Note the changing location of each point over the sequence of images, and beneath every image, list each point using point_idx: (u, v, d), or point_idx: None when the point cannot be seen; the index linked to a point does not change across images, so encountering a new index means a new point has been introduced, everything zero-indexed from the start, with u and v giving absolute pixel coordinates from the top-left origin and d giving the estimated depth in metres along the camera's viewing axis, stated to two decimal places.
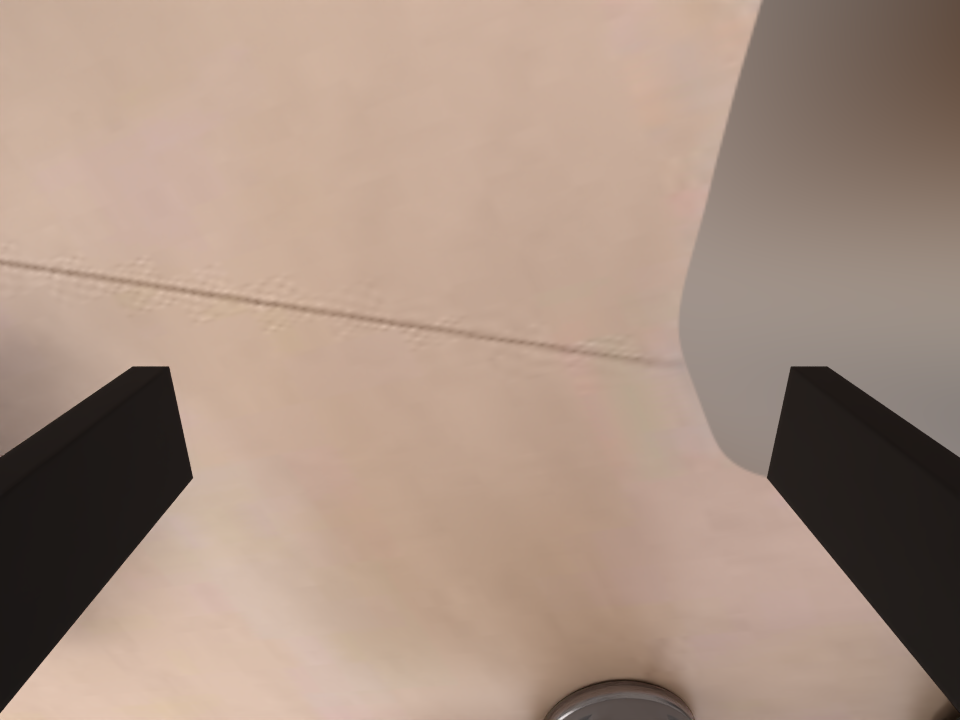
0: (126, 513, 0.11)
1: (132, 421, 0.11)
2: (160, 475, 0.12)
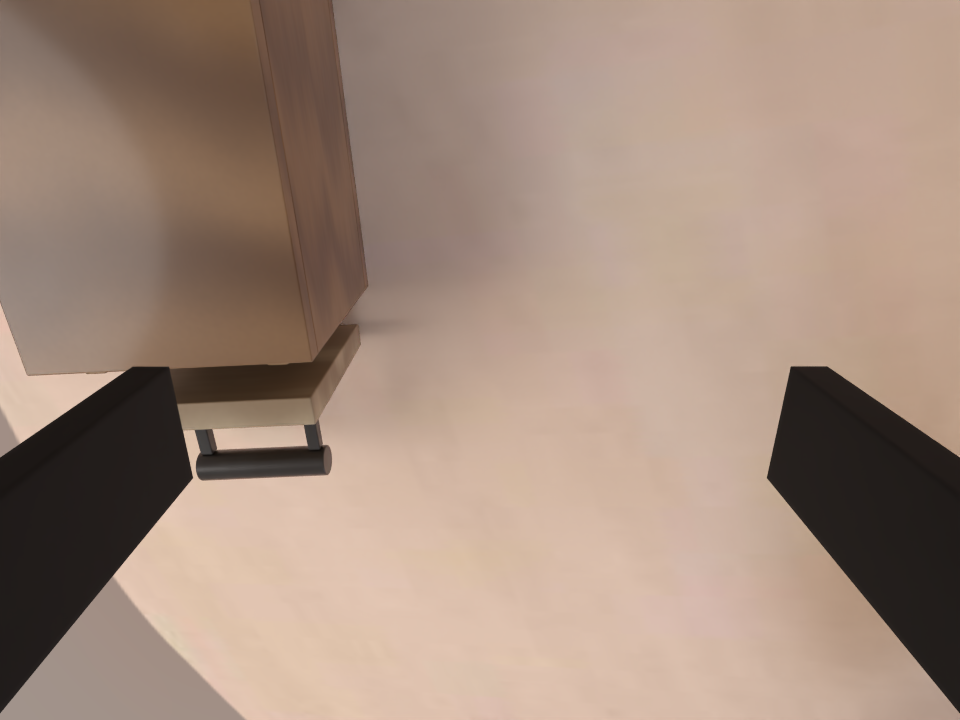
0: (127, 513, 0.11)
1: (132, 421, 0.11)
2: (160, 475, 0.12)
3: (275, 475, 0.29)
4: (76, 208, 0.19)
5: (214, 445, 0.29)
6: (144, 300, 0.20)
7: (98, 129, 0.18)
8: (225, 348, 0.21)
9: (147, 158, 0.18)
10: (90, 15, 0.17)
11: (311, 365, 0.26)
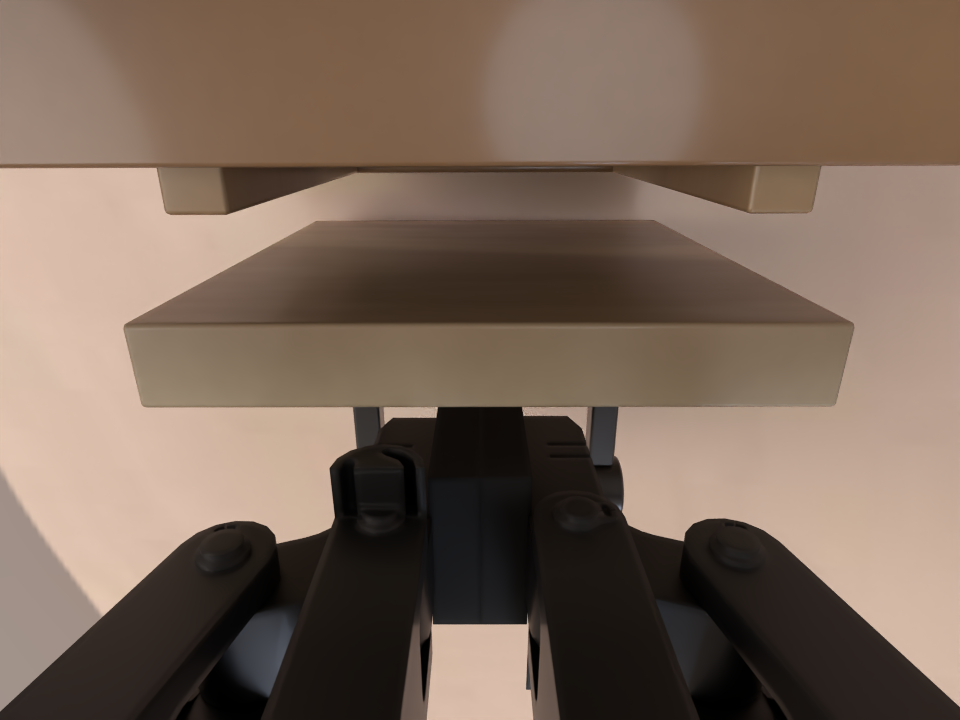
0: None
1: None
2: None
3: None
4: None
5: None
6: None
7: None
8: (723, 89, 0.06)
9: None
10: None
11: (692, 264, 0.11)
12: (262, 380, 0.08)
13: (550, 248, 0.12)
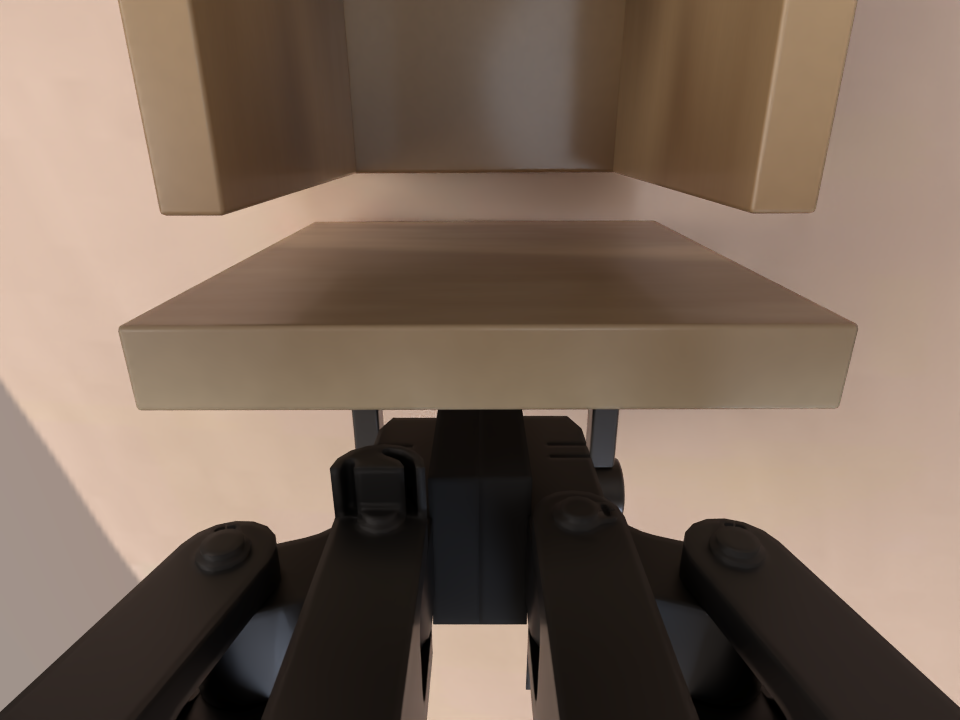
0: None
1: None
2: None
3: None
4: None
5: None
6: None
7: None
8: None
9: None
10: None
11: (693, 265, 0.10)
12: (259, 383, 0.08)
13: (550, 249, 0.12)
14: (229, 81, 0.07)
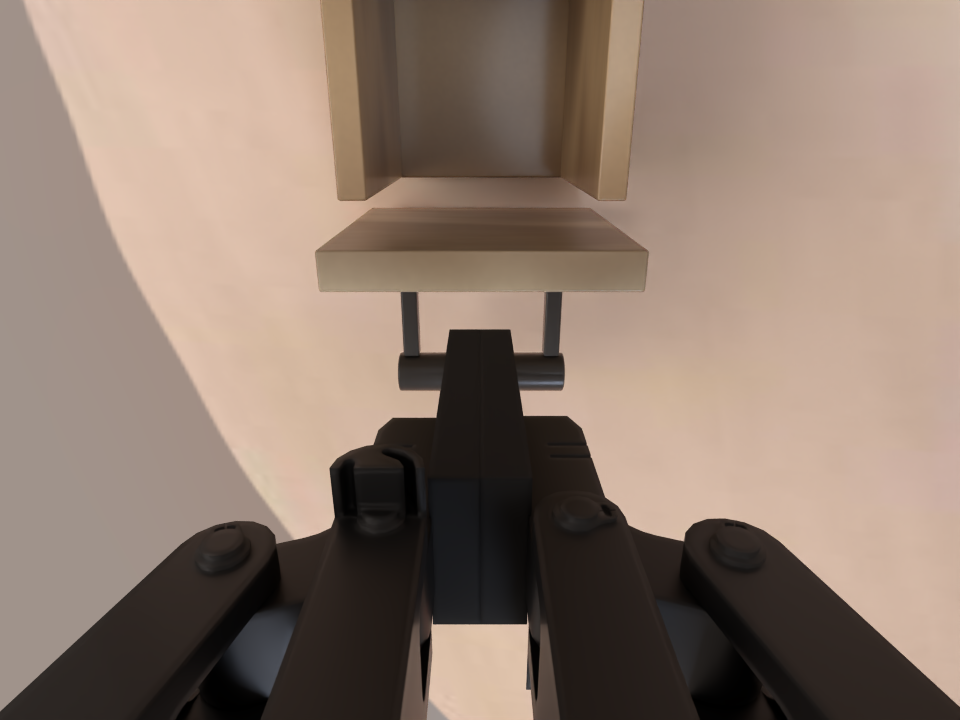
0: None
1: None
2: None
3: None
4: None
5: (419, 345, 0.23)
6: None
7: None
8: None
9: None
10: None
11: (594, 230, 0.19)
12: (377, 278, 0.16)
13: (519, 222, 0.21)
14: (367, 141, 0.16)
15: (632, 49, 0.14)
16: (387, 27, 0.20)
